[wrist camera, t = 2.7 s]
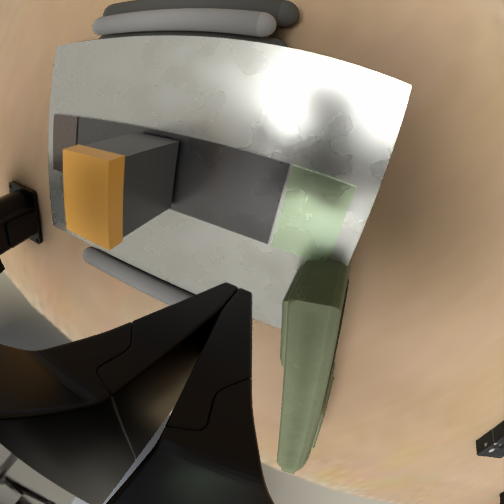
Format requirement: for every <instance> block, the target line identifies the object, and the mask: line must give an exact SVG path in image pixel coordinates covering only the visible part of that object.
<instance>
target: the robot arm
mask: <svg viewBox="0 0 504 504" xmlns="http://www.w3.org/2000/svg"><path fill="white" fill-rule="evenodd" d="M9 188H10V193H9V194H7V195H5V196H2V197H0V255H1V254H3V253H4V252H6V251H7V250H9V249H11V248H14V247H15V246H17V245H18V244H20V243H22V242H23V241H25V240H27V239H28V238H30V239H31V240H33V241H34V242H36V243H37V244H40V243H42V236H41V230H40V223H39V216H38V207H37V198H36V193H35V192H34V191H33V190H30V189H28V188H26V187H24V186H22V185H20V184H18V183H16V182H14V181H12V182H10V183H9ZM3 270H5V268H4V265H3V264H2V262H1V259H0V273H1V272H2V271H3ZM251 378H252V292H250V291H248V290H245V289H243V288H239V289H238V287H237V286H235V285H233V284H230V283H227V282H225V283H222V284H220V285H217V286H215V287H213V288H210V289H208V290H206V291H203V292H201V293H199V294H196V295H194V296H192V297H189V298H187V299H185V300H182V301H180V302H178V303H175V304H173V305H170V306H168V307H166V308H163V309H161V310H159V311H156V312H154V313H151V314H149V315H147V316H144V317H142V318H139V319H137V320H135V321H133V322H132V323H131V322H129V323H127V324H125V325H122V326H120V327H117V328H114V329H112V330H109V331H106V332H104V333H101V334H98V335H94V336H91V337H88V338H85V339H81V340H77V341H74V342H70V343H67V344H63V345H59V346H56V347H52V348H48V349H43V350H36V351H29V350H22V349H17V348H13V347H9V346H6V345H2V344H0V504H71V503H72V502H73V500H74V499H75V497H78V498H80V499H81V500H83V501H85V502H87V503H89V504H103V503H104V501H105V500H106V499H107V497H108V496H109V495H110V493H111V492H112V491H113V489H114V488H115V487H116V486H117V484H118V483H119V482H120V480H121V479H122V478H123V476H124V475H125V473H126V472H127V471H128V470H129V468H130V467H131V465H132V464H133V463H134V462H135V459H137V457H138V456H139V455H140V453H141V452H142V451H143V449H144V448H145V446H146V445H147V444H148V442H149V441H150V440H151V438H152V437H153V436H154V434H155V433H156V432H157V430H158V429H159V427H160V426H161V425H162V423H163V422H164V420H165V419H166V418H167V416H168V415H169V414H170V412H171V411H172V409H173V408H174V409H173V411H172V413H171V415H170V418H169V420H168V422H167V424H166V428H164V430H163V433H162V434H161V436H160V438H159V440H158V441H157V443H156V445H155V446H154V448H153V449H152V450H151V452H150V453H149V454H148V455H147V456H146V458H145V459H144V460H143V461H142V462H141V464H140V465H139V466H138V467H137V468H136V470H135V471H134V472H133V473H132V474H131V475H130V477H129V478H128V479H127V480H126V481H125V483H124V484H123V485H122V486H121V487H120V488H119V489H118V491H117V492H116V493H115V494H114V495H113V496H112V498H111V499H110V500H109V501H108V502H107V503H106V504H274V502H273V500H272V498H271V496H270V494H269V492H268V489H267V487H266V483H265V480H264V476H263V471H262V467H261V461H260V455H259V449H258V443H257V437H256V431H255V425H254V417H253V408H252V379H251Z"/></svg>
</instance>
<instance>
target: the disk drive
mask: <svg viewBox="0 0 504 504" xmlns="http://www.w3.org/2000/svg"><path fill="white" fill-rule="evenodd" d="M476 450H477V455H478V456H487V457H494V458H502V457H503V456H504V421H502V422H501V423H500V424H499V425H497V426H496V427H495V428H493V429H492V430H490V431H489V432H487V433H486V434H485V435H483V436H482V437H481V438H479V439H478V440H476Z"/></svg>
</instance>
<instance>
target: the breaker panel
mask: <svg viewBox="0 0 504 504" xmlns="http://www.w3.org/2000/svg"><path fill="white" fill-rule="evenodd" d="M411 88H412V85H409V84H407V83H405V82H402V81H400V80H397V79H395V78H392V77H389V76H387V75H384V74H381V73H379V72H376V71H373V70H370V69H367V68H364V67H361V66H358V65H355V64H352V63H348V62H345V61H342V60H338V59H334V58H331V57H327V56H323V55H319V54H315V53H311V52H307V51H302V50H298V49H293V48H288V47H283V46H278V45H272V44H266V43H260V42H253V41H245V40H237V39H228V38H216V37H202V36H172V35H163V36H132V37H118V38H108V39H99V40H91V41H84V42H77V43H71V44H65V45H60V46H57V49H56V55H55V61H54V68H53V76H52V85H51V96H50V110H49V134H48V160H49V185H50V199H51V210H52V219H53V225H54V226H56V227H58V228H60V229H62V230H64V231H66V232H67V233H69V234H71V235H73V236H75V237H77V238H79V239H81V240H83V241H85V242H86V243H88V244H90V245H92V246H94V247H96V248H98V249H100V250H102V251H104V252H106V253H108V254H110V255H112V256H114V257H116V258H118V259H120V260H122V261H124V262H127V263H129V264H131V265H133V266H135V267H137V268H139V269H141V270H143V271H145V272H147V273H150V274H152V275H154V276H156V277H158V278H160V279H163V280H165V281H167V282H169V283H171V284H174V285H176V286H178V287H180V288H182V289H185V290H187V291H189V292H192V293H194V294H199V293H201V292H203V291H206V290H208V289H210V288H213V287H215V286H217V285H220V284H222V283H225V282H227V283H230V284H233V285H235V286H237V287H238V289H239V288H243V289H245V290H248V291H250V292H252V318H254V319H256V320H259V321H261V322H264V323H266V324H269V325H271V326H274V327H276V328H279V329H281V324H282V301H283V299H284V297H285V295H286V293H287V291H288V289H289V287H290V285H291V283H292V281H293V278H294V276H295V274H296V272H297V271H298V269H299V268H300V267H303V266H304V264H305V262H307V261H308V260H310V261H313V260H314V261H323V262H328V260H333V261H341V262H343V263H344V264H345V265H346V266H348V263H349V261H350V259H351V257H352V254H353V252H354V250H355V247H356V245H357V243H358V240H359V238H360V236H361V233H362V231H363V228H364V226H365V224H366V221H367V219H368V216H369V214H370V211H371V209H372V206H373V203H374V201H375V198H376V196H377V193H378V190H379V188H380V185H381V182H382V179H383V177H384V174H385V171H386V168H387V165H388V163H389V160H390V157H391V154H392V151H393V148H394V145H395V142H396V139H397V136H398V132H399V129H400V126H401V123H402V119H403V116H404V113H405V109H406V106H407V102H408V99H409V95H410V92H411ZM136 132H138V133H143V134H148V135H153V136H157V137H162V138H167V139H171V140H175V141H179V146H178V153H177V161H176V168H175V176H174V185H173V194H172V203H171V208H169V209H168V210H166V211H164V212H163V213H161V214H160V215H158V216H156V217H155V218H153V219H152V220H150V221H148V222H147V223H145V224H144V225H142V226H141V227H139V228H137V229H136V230H134V231H133V232H131V233H130V234H128V235H127V236H125V237H124V238H123V242H121V243H120V244H118V245H117V246H116V247H114V248H113V249H111V250H110V251H109V250H107V249H105V248H103V247H101V246H99V245H97V244H95V243H93V242H91V241H89V240H87V239H85V238H83V237H81V236H79V235H77V234H75V233H73V232H71V231H69V230H67V227H66V216H65V203H64V186H63V149H65V148H68V147H71V146H75V145H78V144H79V145H83V146H84V145H88V144H91V143H95V142H99V141H103V140H107V139H111V138H115V137H119V136H123V135H127V134H132V133H136Z"/></svg>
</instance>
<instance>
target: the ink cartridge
mask: <svg viewBox="0 0 504 504" xmlns="http://www.w3.org/2000/svg"><path fill="white" fill-rule="evenodd" d="M500 504H504V492H503V493H501V494H500Z"/></svg>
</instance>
